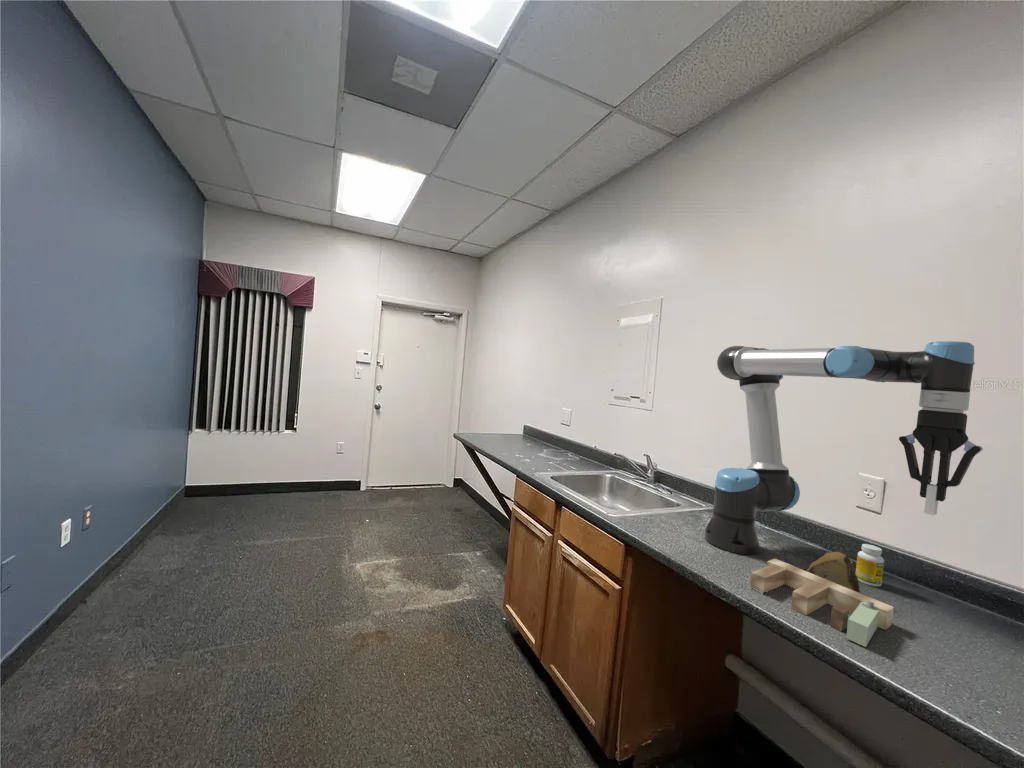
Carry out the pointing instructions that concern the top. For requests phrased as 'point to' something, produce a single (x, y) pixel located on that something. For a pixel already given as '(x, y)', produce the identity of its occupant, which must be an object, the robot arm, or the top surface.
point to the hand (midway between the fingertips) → (930, 513)
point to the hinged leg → (863, 623)
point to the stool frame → (817, 593)
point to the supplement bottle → (870, 565)
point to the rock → (836, 570)
